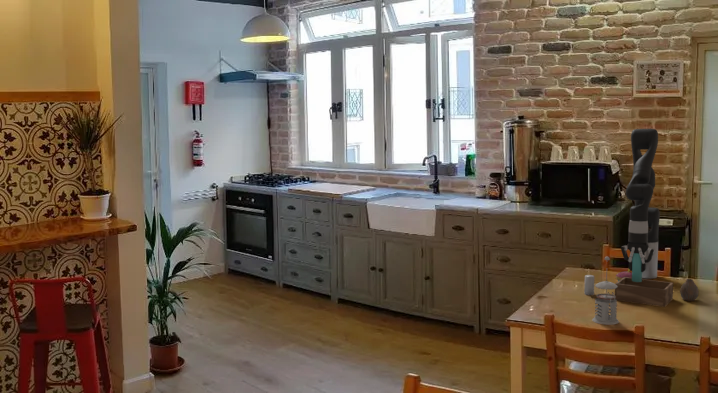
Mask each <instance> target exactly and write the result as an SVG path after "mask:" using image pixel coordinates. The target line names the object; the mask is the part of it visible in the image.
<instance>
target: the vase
mask: <svg viewBox="0 0 718 393" xmlns="http://www.w3.org/2000/svg"><path fill="white" fill-rule="evenodd" d="M679 291H680V292H679V293H680V297H681V299H683V300H684V301H686V302H694V301H696V300H697V299H698V296H699V288H698V286H697V284H696V283H695V281H694V280H693V279H692V278H687V279H686V280H685V281H684V283H682V285H681V287H680V290H679Z"/></svg>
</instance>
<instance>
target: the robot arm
mask: <svg viewBox="0 0 718 393" xmlns="http://www.w3.org/2000/svg"><path fill="white" fill-rule="evenodd" d="M630 144H631V145H630V146H631V152H632V166H633V167H632V168H633V170H632V176H631V179H630V181H629V183H628V184H627V186H626V189H625V196H626V198H627V199H628V200H630V201H634V205H632V206H631V207H630V208H629V223H628V242H627V245H622V246H621V247H620V250H621V254H622V256H623V257H622V258H623V259H624V261H627V262H628V268H629V269H630V271H629V272H632V258H633V254H634V253H638V254H640V258H641V261H642V264H641V272H642V279H646V280H652V279H657V277H658V263H659V262H658V261H659V260H658V259H659V257H658V256H659V255H658V254H659V228H660V216H661V215H660V214H661V212H660V209H659V208H658V207H650V205H651V200H652V198H653V196H654V189H655V187H656V172H655V170H654V169H653V167H652V166H653V162H654V160H655V155H656V152H657V149H658V144H659V133H658V131H657V129H656V128H636V129H633V130H632V131H631V134H630ZM641 150H643V151H644V150H645V153H644V154H642V153H643V152H642V151H641ZM649 228H650V230H649ZM627 250H629V252H630V253H629V254H628V252H627Z"/></svg>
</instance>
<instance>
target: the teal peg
mask: <svg viewBox="0 0 718 393" xmlns="http://www.w3.org/2000/svg"><path fill="white" fill-rule="evenodd" d="M641 264H642V261H641V258H640V254H638V253H634V254H633V258H632V271H631V273H632V281H634V282H642V279H643V278H642V272H641Z"/></svg>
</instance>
